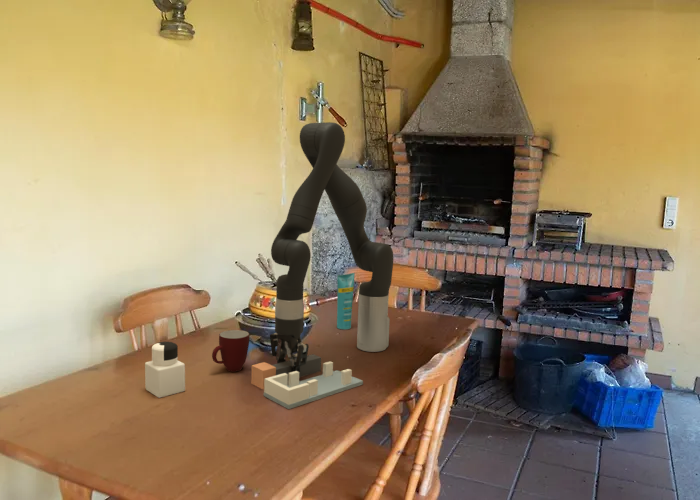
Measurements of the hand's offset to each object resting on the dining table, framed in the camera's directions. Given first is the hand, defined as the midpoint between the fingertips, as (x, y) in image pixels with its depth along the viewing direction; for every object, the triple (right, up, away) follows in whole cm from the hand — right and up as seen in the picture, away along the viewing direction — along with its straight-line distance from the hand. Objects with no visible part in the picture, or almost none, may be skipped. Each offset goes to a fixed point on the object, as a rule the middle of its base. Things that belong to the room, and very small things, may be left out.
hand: (288, 375), depth 158 cm
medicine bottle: (-29, -1, -11) cm, 31 cm away
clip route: (+8, -2, -8) cm, 11 cm away
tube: (+14, +6, +48) cm, 51 cm away
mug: (-16, +1, +4) cm, 17 cm away
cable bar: (0, -1, 0) cm, 1 cm away
